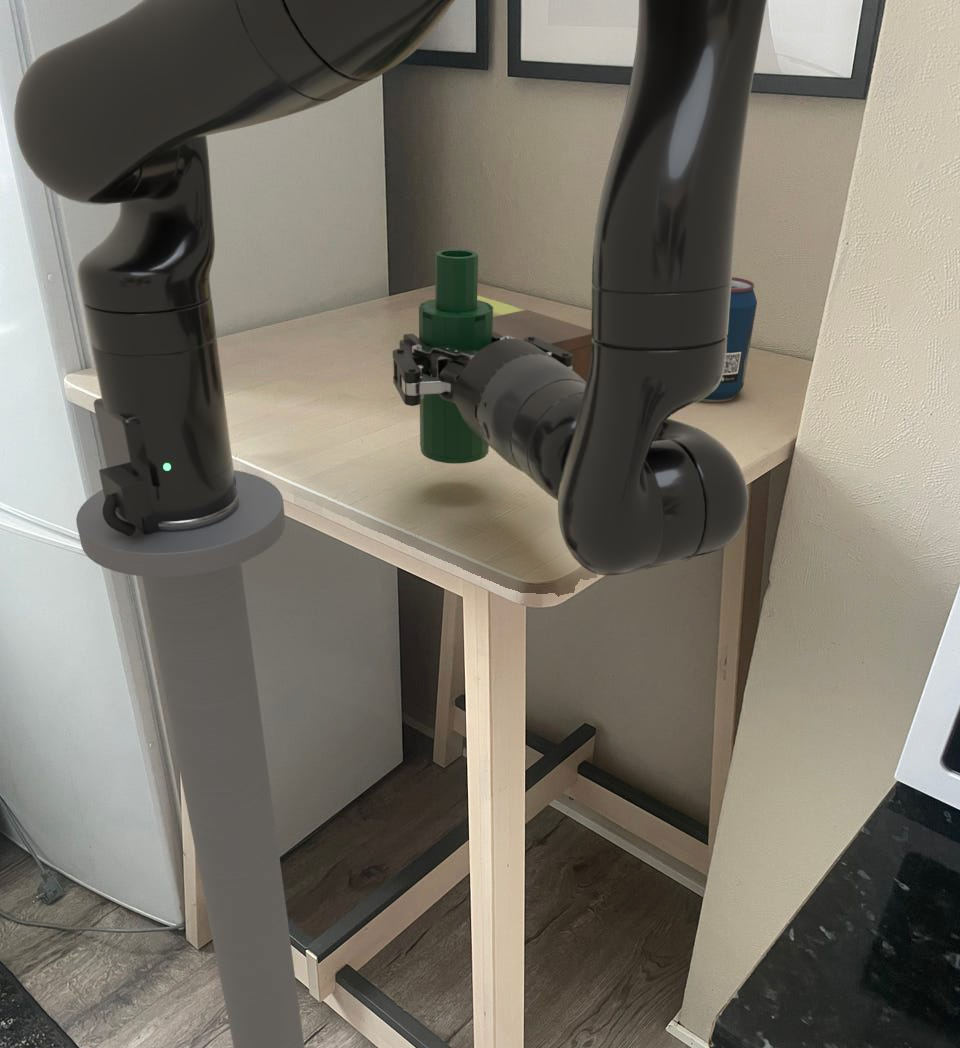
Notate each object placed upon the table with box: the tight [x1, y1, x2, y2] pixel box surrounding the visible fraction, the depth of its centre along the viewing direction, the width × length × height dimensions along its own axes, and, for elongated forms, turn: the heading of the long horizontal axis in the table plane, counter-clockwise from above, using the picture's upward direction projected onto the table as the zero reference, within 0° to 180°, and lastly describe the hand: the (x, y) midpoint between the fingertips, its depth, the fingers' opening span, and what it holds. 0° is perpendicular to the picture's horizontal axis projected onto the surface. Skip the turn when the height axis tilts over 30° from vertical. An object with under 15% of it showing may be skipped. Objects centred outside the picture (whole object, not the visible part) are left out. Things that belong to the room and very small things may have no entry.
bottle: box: [418, 248, 493, 464], centre depth 80 cm, size 6×6×16 cm
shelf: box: [493, 309, 592, 382], centre depth 103 cm, size 11×11×8 cm
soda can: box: [698, 276, 758, 403], centre depth 106 cm, size 7×7×12 cm
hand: (444, 342), depth 81 cm, fingers closed on bottle, 6 cm apart
